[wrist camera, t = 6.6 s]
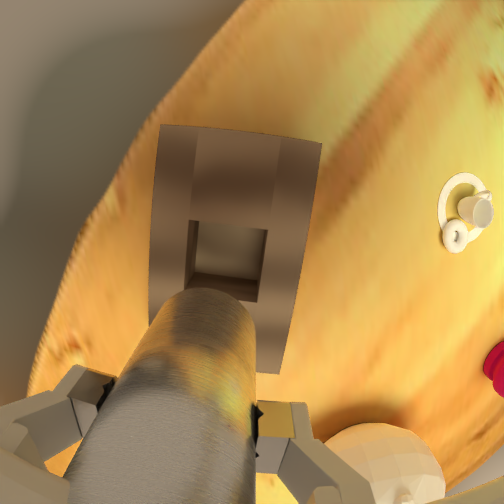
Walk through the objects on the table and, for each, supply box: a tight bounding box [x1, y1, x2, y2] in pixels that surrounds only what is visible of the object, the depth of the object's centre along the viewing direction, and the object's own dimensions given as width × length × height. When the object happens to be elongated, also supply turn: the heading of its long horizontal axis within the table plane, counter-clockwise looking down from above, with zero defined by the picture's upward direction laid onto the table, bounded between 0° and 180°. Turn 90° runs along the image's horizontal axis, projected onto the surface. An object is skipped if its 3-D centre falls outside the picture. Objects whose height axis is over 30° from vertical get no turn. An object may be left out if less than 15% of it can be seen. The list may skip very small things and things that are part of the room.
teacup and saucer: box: [438, 172, 494, 253], centre depth 27 cm, size 9×8×4 cm
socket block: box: [149, 124, 322, 374], centre depth 27 cm, size 20×12×6 cm, turn 173°
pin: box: [62, 287, 256, 504], centre depth 9 cm, size 4×4×10 cm
